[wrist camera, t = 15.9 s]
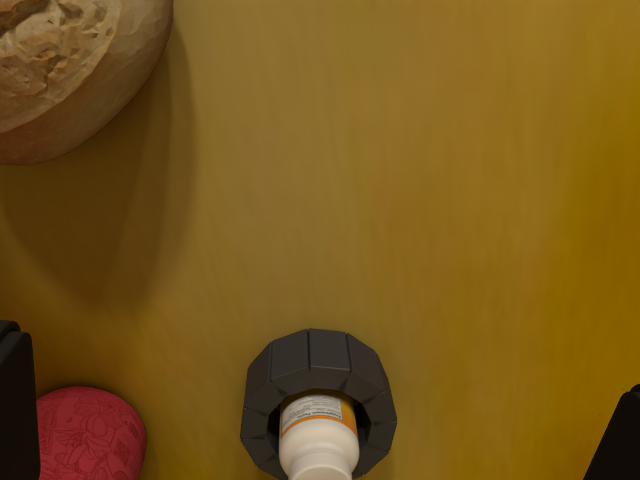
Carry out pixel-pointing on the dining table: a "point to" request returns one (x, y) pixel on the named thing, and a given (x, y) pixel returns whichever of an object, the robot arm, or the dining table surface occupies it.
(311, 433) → the supplement bottle
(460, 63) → the dining table surface
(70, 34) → the bread roll
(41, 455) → the wine bottle
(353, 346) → the tape roll
